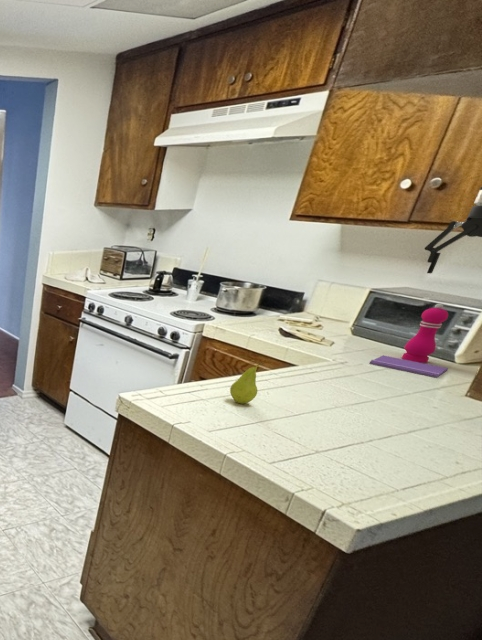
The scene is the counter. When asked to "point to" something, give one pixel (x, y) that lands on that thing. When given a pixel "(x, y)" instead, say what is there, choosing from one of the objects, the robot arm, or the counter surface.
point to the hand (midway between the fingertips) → (459, 275)
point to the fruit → (245, 386)
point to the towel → (409, 366)
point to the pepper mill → (425, 335)
